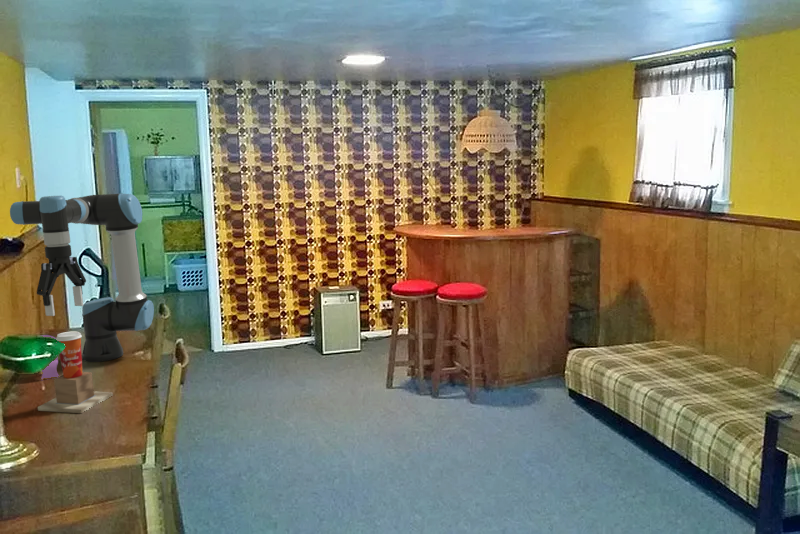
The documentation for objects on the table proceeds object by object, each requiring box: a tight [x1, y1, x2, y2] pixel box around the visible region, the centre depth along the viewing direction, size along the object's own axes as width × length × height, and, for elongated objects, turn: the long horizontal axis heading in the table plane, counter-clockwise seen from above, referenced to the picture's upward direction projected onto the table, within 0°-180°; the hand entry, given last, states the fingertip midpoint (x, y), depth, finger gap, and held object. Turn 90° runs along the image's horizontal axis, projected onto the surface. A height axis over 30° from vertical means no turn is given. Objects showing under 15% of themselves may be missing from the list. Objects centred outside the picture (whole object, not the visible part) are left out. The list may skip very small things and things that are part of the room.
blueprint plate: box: [37, 391, 114, 414], centre depth 237 cm, size 16×16×1 cm
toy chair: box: [40, 334, 60, 380], centre depth 266 cm, size 8×9×15 cm
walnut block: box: [53, 371, 95, 404], centre depth 237 cm, size 8×8×8 cm
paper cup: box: [55, 330, 83, 378], centre depth 235 cm, size 8×8×14 cm
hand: (65, 310), depth 234 cm, fingers open, 13 cm apart
